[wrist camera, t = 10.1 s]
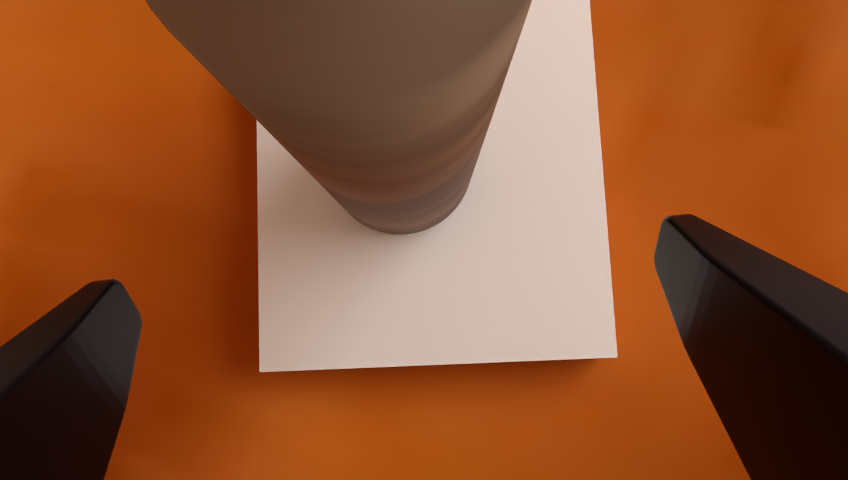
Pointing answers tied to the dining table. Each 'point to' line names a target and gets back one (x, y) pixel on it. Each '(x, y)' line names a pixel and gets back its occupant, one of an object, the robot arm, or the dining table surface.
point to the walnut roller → (364, 90)
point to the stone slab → (456, 238)
